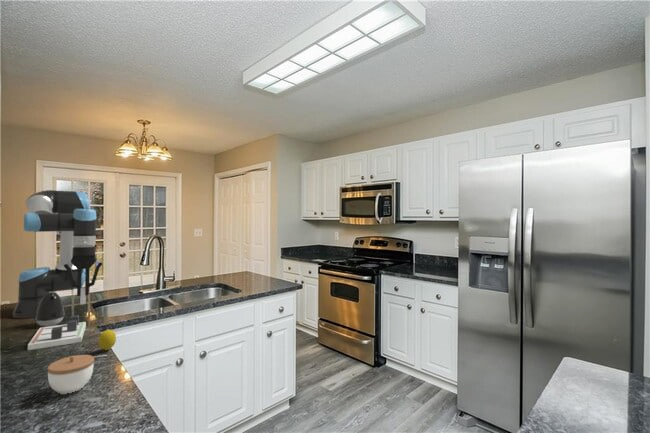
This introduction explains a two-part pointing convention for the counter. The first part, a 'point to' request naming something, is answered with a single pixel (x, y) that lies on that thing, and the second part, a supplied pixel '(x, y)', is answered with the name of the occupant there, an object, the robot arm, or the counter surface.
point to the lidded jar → (70, 373)
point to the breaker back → (75, 318)
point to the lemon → (107, 339)
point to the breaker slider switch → (56, 333)
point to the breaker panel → (68, 337)
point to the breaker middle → (72, 325)
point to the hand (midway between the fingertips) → (82, 303)
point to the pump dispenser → (50, 310)
